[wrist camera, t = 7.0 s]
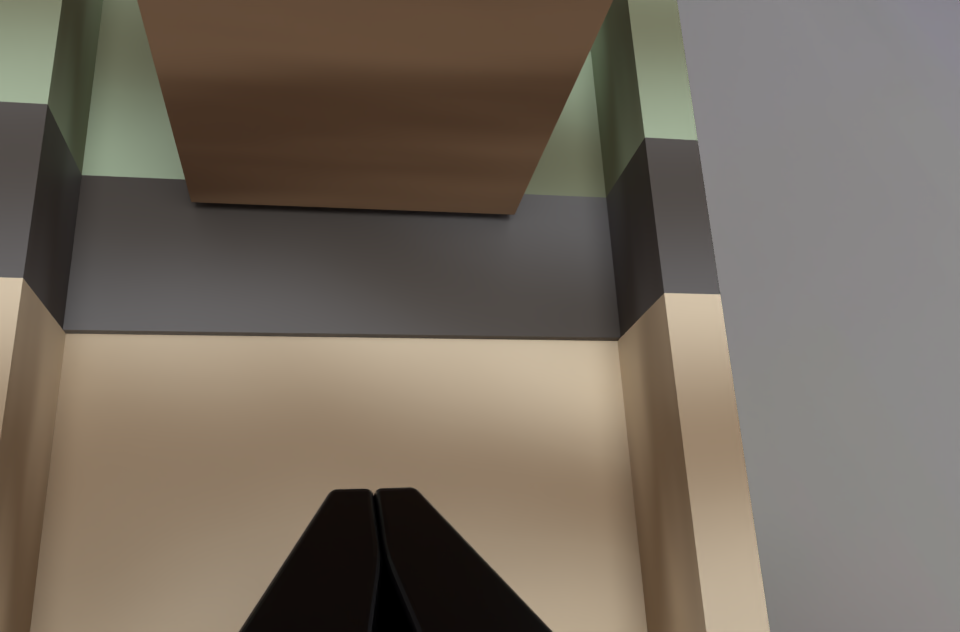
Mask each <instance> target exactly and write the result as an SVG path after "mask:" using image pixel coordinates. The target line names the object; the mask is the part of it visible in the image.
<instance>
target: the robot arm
mask: <svg viewBox="0 0 960 632" xmlns="http://www.w3.org/2000/svg"><path fill="white" fill-rule="evenodd" d="M239 632H553V631H552V630H551V629H550V628H549V627H548V626H547V625H546V624H545V623H544V622H543V621H542V620H541V619H540V618H539V617H538V616H537V614H536V613H535V612H534V611H533V610H532V609H531V608H530V607H529V606H528V605H527V604H526V603H525V602H524V601H523V600H522V599H521V598H520V597H519V596H518V595H517V594H516V592H515V591H514V590H513V589H512V588H511V587H510V586H509V585H508V584H507V583H506V582H505V581H504V580H503V579H502V578H501V577H500V576H499V575H498V574H497V573H496V571H495V570H494V569H493V568H492V567H491V566H490V565H489V564H488V563H487V562H486V561H485V560H484V559H483V558H482V557H481V556H480V555H479V554H478V553H477V552H476V550H475V549H474V548H473V547H472V546H471V545H470V544H469V543H468V542H467V541H466V540H465V539H464V538H463V537H462V536H461V535H460V534H459V533H458V532H457V531H456V529H455V528H454V527H453V526H452V525H451V524H450V523H449V522H448V521H447V520H446V519H445V518H444V517H443V516H442V515H441V514H440V513H439V512H438V511H437V510H436V509H435V507H434V506H433V505H432V504H431V503H430V502H429V501H428V500H427V499H426V498H425V497H424V496H423V495H422V494H421V493H420V492H419V491H418V490H417V489H415V488H412V487H402V488H379V489H378V490H376V491H375V493H374V495H373V493H372V491H371V490H369V489H366V488H363V489H334V490H332V491H331V492H330V493H329V494H328V495H327V497H326V498H325V500H324V501H323V503H322V504H321V506H320V507H319V509H318V511H317V512H316V514H315V515H314V517H313V518H312V520H311V521H310V523H309V524H308V526H307V527H306V529H305V530H304V532H303V534H302V535H301V537H300V538H299V540H298V541H297V543H296V544H295V546H294V547H293V549H292V550H291V552H290V554H289V555H288V557H287V558H286V560H285V561H284V563H283V564H282V566H281V567H280V569H279V570H278V572H277V574H276V575H275V577H274V578H273V580H272V581H271V583H270V584H269V586H268V587H267V589H266V590H265V592H264V593H263V595H262V597H261V598H260V600H259V601H258V603H257V604H256V606H255V607H254V609H253V610H252V612H251V613H250V615H249V617H248V618H247V620H246V621H245V623H244V624H243V626H242V627H241V629H240V630H239Z"/></svg>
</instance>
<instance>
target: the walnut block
mask: <svg viewBox="0 0 960 632" xmlns="http://www.w3.org/2000/svg"><path fill="white" fill-rule="evenodd" d="M137 2H138V5H139V9H140V13H141V17H142V20H143V24H144V28H145V31H146V35H147V39H148V43H149V46H150V50H151V54H152V58H153V61H154V65H155V69H156V72H157V76H158V80H159V84H160V87H161V91H162V95H163V99H164V102H165V106H166V110H167V113H168V117H169V121H170V125H171V128H172V132H173V136H174V140H175V143H176V147H177V151H178V154H179V158H180V162H181V166H182V169H183V173H184V177H185V181H186V184H187V188H188V192H189V195H190V199H191V202H200V203H225V204H251V205H277V206H303V207H329V208H355V209H381V210H407V211H432V212H458V213H484V214H510V215H515V213H516V210H517V208H518V206H519V204H520V202H521V200H522V197H523V195H524V193H525V191H526V189H527V187H528V184H529V182H530V180H531V178H532V176H533V173H534V171H535V169H536V167H537V165H538V163H539V160H540V158H541V156H542V154H543V152H544V150H545V147H546V145H547V143H548V141H549V139H550V137H551V134H552V132H553V130H554V128H555V126H556V123H557V121H558V119H559V117H560V115H561V113H562V110H563V108H564V106H565V104H566V102H567V100H568V97H569V95H570V93H571V91H572V89H573V87H574V84H575V82H576V80H577V78H578V76H579V74H580V71H581V69H582V67H583V65H584V63H585V60H586V58H587V56H588V54H589V52H590V50H591V47H592V45H593V43H594V41H595V39H596V37H597V34H598V32H599V30H600V28H601V26H602V24H603V21H604V19H605V17H606V15H607V13H608V11H609V8H610V6H611V4H612V2H613V0H137Z"/></svg>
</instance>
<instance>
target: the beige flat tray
mask: <svg viewBox="0 0 960 632" xmlns="http://www.w3.org/2000/svg"><path fill="white" fill-rule="evenodd" d="M402 487H412V488H415V489H417V490H418V491H419V492H420V493H421V494H422V495H423V496H424V497H425V498H426V499H427V500H428V501H429V502H430V503H431V504H432V505H433V506H434V507H435V509H436V510H437V511H438V512H439V513H440V514H441V515H442V516H443V517H444V518H445V519H446V520H447V521H448V522H449V523H450V524H451V525H452V526H453V527H454V528H455V529H456V531H457V532H458V533H459V534H460V535H461V536H462V537H463V538H464V539H465V540H466V541H467V542H468V543H469V544H470V545H471V546H472V547H473V548H474V549H475V550H476V552H477V553H478V554H479V555H480V556H481V557H482V558H483V559H484V560H485V561H486V562H487V563H488V564H489V565H490V566H491V567H492V568H493V569H494V570H495V571H496V573H497V574H498V575H499V576H500V577H501V578H502V579H503V580H504V581H505V582H506V583H507V584H508V585H509V586H510V587H511V588H512V589H513V590H514V591H515V592H516V594H517V595H518V596H519V597H520V598H521V599H522V600H523V601H524V602H525V603H526V604H527V605H528V606H529V607H530V608H531V609H532V610H533V611H534V612H535V613H536V614H537V616H538V617H539V618H540V619H541V620H542V621H543V622H544V623H545V624H546V625H547V626H548V627H549V628H550V629H551V630H552V631H553V632H770V629H769V622H768V615H767V609H766V602H765V595H764V588H763V582H762V575H761V568H760V561H759V554H758V548H757V541H756V534H755V527H754V520H753V514H752V507H751V500H750V493H749V487H748V480H747V473H746V466H745V459H744V453H743V446H742V439H741V432H740V425H739V419H738V412H737V405H736V398H735V392H734V385H733V378H732V371H731V364H730V358H729V351H728V344H727V337H726V330H725V324H724V317H723V310H722V303H721V297H720V290H719V283H718V276H717V269H716V263H715V256H714V249H713V242H712V235H711V229H710V222H709V215H708V208H707V202H706V195H705V188H704V181H703V174H702V168H701V161H700V154H699V147H698V141H697V134H696V127H695V120H694V113H693V107H692V100H691V93H690V86H689V79H688V73H687V66H686V59H685V52H684V46H683V39H682V32H681V25H680V18H679V12H678V5H677V0H613V2H612V4H611V6H610V8H609V11H608V13H607V15H606V17H605V19H604V21H603V24H602V26H601V28H600V30H599V32H598V34H597V37H596V39H595V41H594V43H593V45H592V47H591V50H590V52H589V54H588V56H587V58H586V60H585V63H584V65H583V67H582V69H581V71H580V74H579V76H578V78H577V80H576V82H575V84H574V87H573V89H572V91H571V93H570V95H569V97H568V100H567V102H566V104H565V106H564V108H563V110H562V113H561V115H560V117H559V119H558V121H557V123H556V126H555V128H554V130H553V132H552V134H551V137H550V139H549V141H548V143H547V145H546V147H545V150H544V152H543V154H542V156H541V158H540V160H539V163H538V165H537V167H536V169H535V171H534V173H533V176H532V178H531V180H530V182H529V184H528V187H527V189H526V191H525V193H524V195H523V197H522V200H521V202H520V204H519V206H518V208H517V210H516V213H515V215H510V214H484V213H458V212H432V211H407V210H381V209H355V208H329V207H303V206H277V205H251V204H225V203H200V202H191V199H190V195H189V192H188V188H187V184H186V181H185V177H184V173H183V169H182V166H181V162H180V158H179V154H178V151H177V147H176V143H175V140H174V136H173V132H172V128H171V125H170V121H169V117H168V113H167V110H166V106H165V102H164V99H163V95H162V91H161V87H160V84H159V80H158V76H157V72H156V69H155V65H154V61H153V58H152V54H151V50H150V46H149V43H148V39H147V35H146V31H145V28H144V24H143V20H142V17H141V13H140V9H139V5H138V2H137V0H0V632H239V630H240V629H241V627H242V626H243V624H244V623H245V621H246V620H247V618H248V617H249V615H250V613H251V612H252V610H253V609H254V607H255V606H256V604H257V603H258V601H259V600H260V598H261V597H262V595H263V593H264V592H265V590H266V589H267V587H268V586H269V584H270V583H271V581H272V580H273V578H274V577H275V575H276V574H277V572H278V570H279V569H280V567H281V566H282V564H283V563H284V561H285V560H286V558H287V557H288V555H289V554H290V552H291V550H292V549H293V547H294V546H295V544H296V543H297V541H298V540H299V538H300V537H301V535H302V534H303V532H304V530H305V529H306V527H307V526H308V524H309V523H310V521H311V520H312V518H313V517H314V515H315V514H316V512H317V511H318V509H319V507H320V506H321V504H322V503H323V501H324V500H325V498H326V497H327V495H328V494H329V493H330V492H331V491H332V490H334V489H363V488H366V489H369V490H371V491H372V493H373V495H374V493H375V491H376V490H378V489H379V488H402Z"/></svg>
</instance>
